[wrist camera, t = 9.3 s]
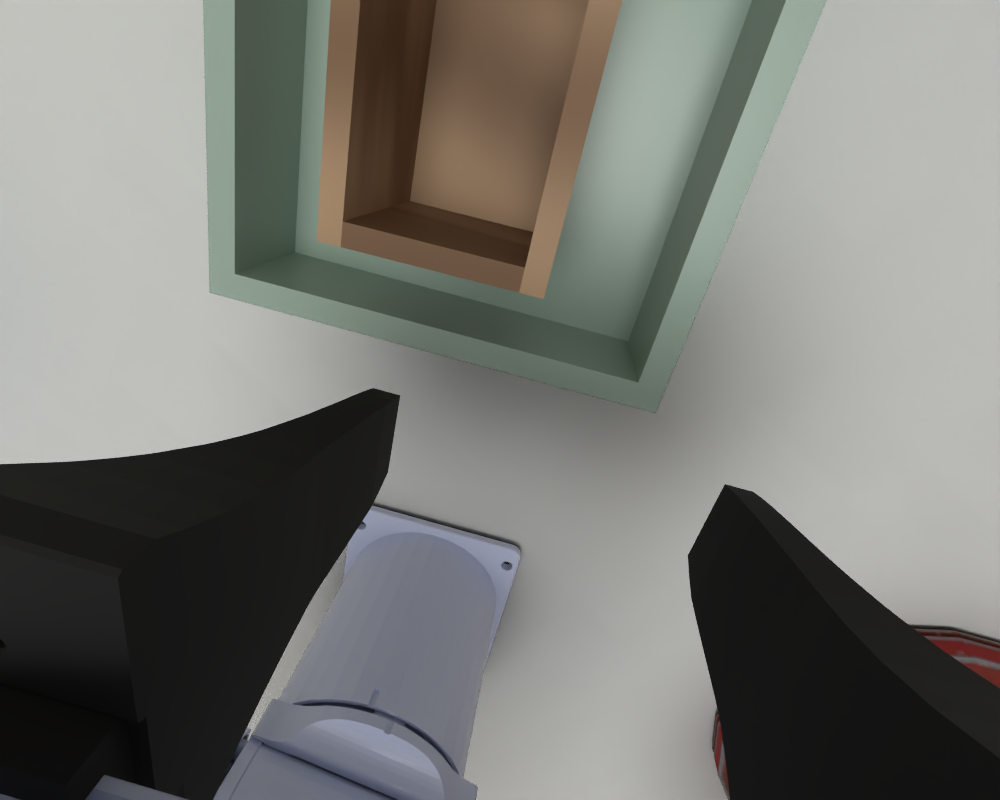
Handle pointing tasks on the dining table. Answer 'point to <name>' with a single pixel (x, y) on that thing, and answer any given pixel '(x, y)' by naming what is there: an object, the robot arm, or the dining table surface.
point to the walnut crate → (459, 130)
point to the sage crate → (590, 214)
